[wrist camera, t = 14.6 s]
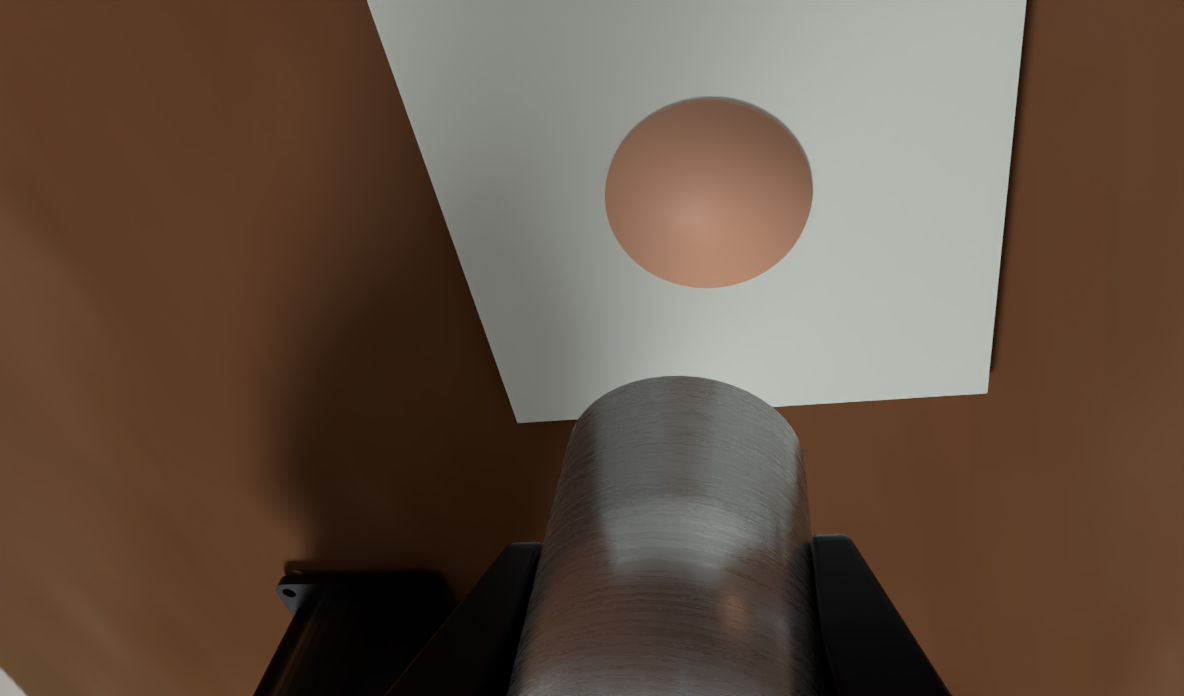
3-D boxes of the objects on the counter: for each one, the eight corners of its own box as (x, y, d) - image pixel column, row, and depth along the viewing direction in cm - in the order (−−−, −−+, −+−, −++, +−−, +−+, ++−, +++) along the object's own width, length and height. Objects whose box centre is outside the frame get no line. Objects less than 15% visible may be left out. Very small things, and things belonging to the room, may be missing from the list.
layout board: (520, 413, 22) (516, 425, 22) (257, -339, 13) (242, -343, 12) (1706, 334, 16) (1729, 348, 15) (2871, -1237, 7) (2997, -1295, 6)
